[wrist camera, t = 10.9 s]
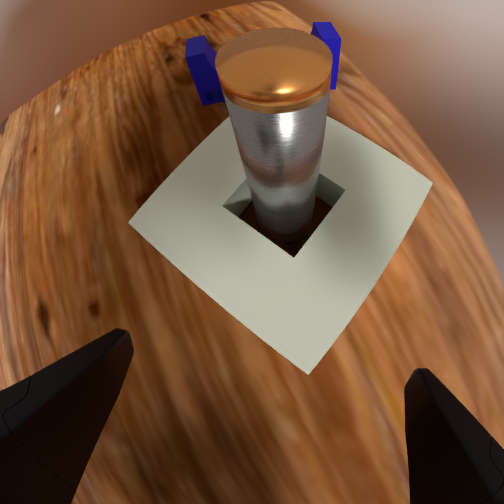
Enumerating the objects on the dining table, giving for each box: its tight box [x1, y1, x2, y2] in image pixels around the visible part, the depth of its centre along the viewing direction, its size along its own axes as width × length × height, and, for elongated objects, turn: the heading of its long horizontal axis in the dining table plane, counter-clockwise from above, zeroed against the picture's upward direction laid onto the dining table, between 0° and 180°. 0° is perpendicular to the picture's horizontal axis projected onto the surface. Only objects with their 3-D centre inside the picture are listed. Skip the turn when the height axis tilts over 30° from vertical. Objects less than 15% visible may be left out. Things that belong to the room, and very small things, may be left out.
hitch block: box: [128, 116, 433, 375], centre depth 18 cm, size 14×14×3 cm
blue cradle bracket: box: [185, 22, 341, 105], centre depth 22 cm, size 12×4×6 cm, turn 96°
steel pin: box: [215, 28, 333, 244], centre depth 14 cm, size 4×4×13 cm
